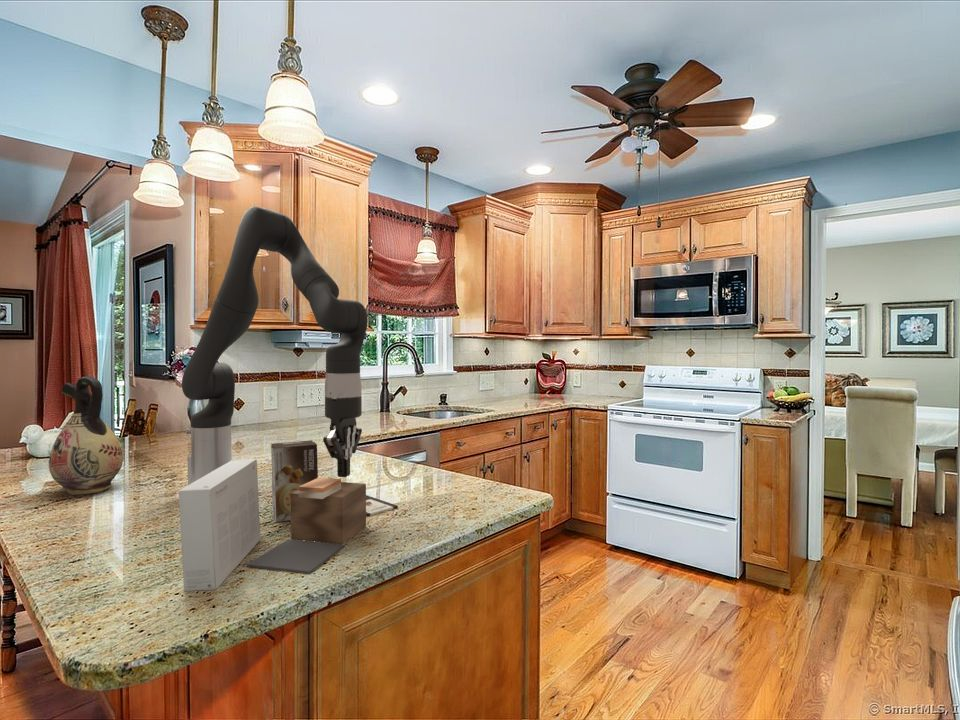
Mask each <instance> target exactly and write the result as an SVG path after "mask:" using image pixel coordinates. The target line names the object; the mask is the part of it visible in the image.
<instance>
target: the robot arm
mask: <svg viewBox="0 0 960 720" xmlns="http://www.w3.org/2000/svg"><path fill="white" fill-rule="evenodd" d="M260 250H264V251H269V252H272V253H278V254H279V255H281V256H282V257H284V258H285V259H286V260H287V261H288V262H289V263H290V268H291V269H290V272H291V273H290V274H291V279H292V281H293V284H295V286H296V288H297V289H298V290H299V292H300V293H301V294H302V295H303V297H304V298H305V299H306V301H308V303H309V306H310V309H311V311H312V314H313V316H314V319H315V321H316V323H317V324H318V325H319V327H320V328H321V329H323V330H324V331H326V332H329V333H332V334H341V335H340V338H339V341H338V343H336V344H332V345H329V346H328V347H327V348H326V352H325V379H324V416H325V417H326V418H327V419H330V424H329V434H328V436H324V437H322V438H323V444H324V445H325V447H326V449H327V452H328V454H329V456H330V458H331V459H335V460H337V461H336V462H337V465H336V467H337V468H336V469H337V470H336V471H337V477H339V478H347V477H349V476H350V475H351V458H352V457H353V454H356V452H357V448H358V445H359V443H360V439H361V436H362V432H363V429H362V428H361V427H357V418H360V417H361V416H362V413H363V411H362V408H363V407H362V404H363V403H362V401H363V400H362V394H363V393H362V390H363V389H362V378H361V351H362V348H363V344H364V342H365V341H364V340H365V336H366V332H367V329H368V322H369V321H368V320H369V319H368V313H367V310H366V308H365V306H364V304H362V303H361V302H360V301H357V300H354V299H353V300H352V299H351V300H350V299H342V298H338V297H339V295H340V289H339V286H338V285H337V283H336V281H335V280H334V279H333V278H332V277H331V275H329V273H328V272H327V271H326V270H325V269H324V267H322V265H320V263H319V262H318V261H317V259H316V257H314V255H313V253H312V252H311V250H310V248H309V247H308V245H307V243H306V241H305V239H304V238H303V236H302V235H301V233H300V231H299V229H298V227H297V225H296V224H295V223H294V221H293V220H292V219H291V218H290V217H289V216H287V215H286V214H284V213H282V212H278V211H275V210H272V209H269V208H264V207H261V206H251V207H249V208H248V209H246V210H245V212H244V213H243V215H242V217H241V219H240V222H239V225H238V227H237V232H236V235H235V240H234V244H233V248H232V252H231V255H230V259H229V262H228V264H227V269H226V271H225V273H224V277H223V280H222V281H221V284H220V287H219V289H218V292H217V294H216V296H215V299H214V302H213V304H212V307H211V310H210V314H209V316H208V319H207V322H206V324H205V327H204V329H203V332H202V335H201V337H200V338H199V341H198V344H197V345H196V347H195V349H194V351H193V353H192V354H191V356H190V359H189V361H188V363H187V365H186V367H185V369H184V372H183V374H182V380H181V389H182V393H183V395H184V396H185V397H186V398H187V399H189V400H193V401H203V400H204V401H205V400H208V401H207V404H206V405H205V407H204V408H203V409H201V410H199V411H198V412H196V413H194V414H192V415H191V417H190V456H188V457H187V486H188V485H189V484H191V483H193V482H195V481H196V480H198V479H200V478H202V477H203V476H205V475H207V474H209V473H210V472H212V471H214V470H216V469H217V468H219V467H221V466H223V465H224V464H226V463H228V462H230V461H231V460H233V459H232V457H233V456H232V455H233V454H232V452H233V451H232V448H233V447H232V418H233V415H234V411H235V392H236V381H235V380H236V379H235V374H234V371H233V370H234V369H232V367H231V366H230V365H229V364H228V363H225V362H218V361H219V359H220V358H221V356H222V355H223V354H224V353H225V352H226V350H228V349H229V348H230V347H231V346H232V345H233V344H234V343H235V342H237V341H238V340H239V339H240V338H241V337H242V336H243V335H244V334H245V333H246V332H247V331H248V330H249V328H250V326H251V324H252V323H253V320H254V318H255V315H256V312H257V310H258V306H259V293H258V289H257V284H256V281H255V276H254V267H255V263H256V259H257V256H258V254H259V252H260Z"/></svg>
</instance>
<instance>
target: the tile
mask: <svg viewBox="0 0 960 720" xmlns="http://www.w3.org/2000/svg"><path fill="white" fill-rule="evenodd" d="M341 480H342V479H341V478H330V477H329V478H328V477H318V478H317V479H314V480H312V481H310V482H308V483H306V484H303V485H301V486H299V497H303V498H316V499H324V498H325V497H327V496H329V495H331V494H333V493H335V492H337V491H338V490H340V489H341V482H342V481H341Z"/></svg>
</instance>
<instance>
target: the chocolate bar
mask: <svg viewBox="0 0 960 720" xmlns="http://www.w3.org/2000/svg"><path fill="white" fill-rule="evenodd" d="M398 508H399V506H398V505H397V504H394V503H391V502H388V501H385V500H382V499H378V498H376V497H373V496H369V495H367V494H366V516H368V517H371V516H373V515H374V514H375V515H377V513H378V514H382V513H385V511H386V512H389V511H393V510H396V509H398ZM392 509H393V510H392ZM388 510H389V511H388ZM381 512H382V513H381ZM370 515H371V516H370Z"/></svg>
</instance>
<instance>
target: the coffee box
mask: <svg viewBox="0 0 960 720" xmlns="http://www.w3.org/2000/svg"><path fill="white" fill-rule="evenodd" d="M270 445H271V446H270V447H271V450H270V451H271V452H270V453H271V491H272V492H271V493H272V494H271V495H272V496H271V499H272V501H271V502H272V516H273V519H274V521H275V523H280V522H281V523H282V522H287V521H291V493H292V492H295V491H297V490H299V486H301V485H303V484H306V483H308V482H310V481H312V480H314V479H317V478H319V468H318V465H319V464H318V463H319V462H318V460H319V459H318V444H317V442H315V441H313V440H301V441H300V440H299V441H287V442H286V441H285V442H276V443H275V442H274V443H271V444H270Z"/></svg>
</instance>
